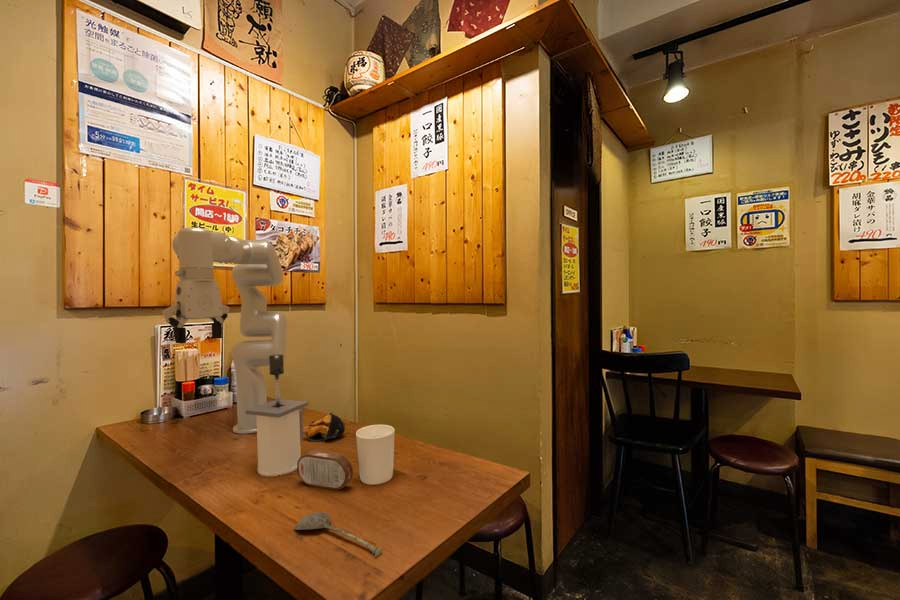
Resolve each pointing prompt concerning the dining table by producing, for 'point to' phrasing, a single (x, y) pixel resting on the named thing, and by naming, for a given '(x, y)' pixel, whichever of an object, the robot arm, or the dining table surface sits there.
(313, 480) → the tin
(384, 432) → the white tapered cylinder
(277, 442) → the white grey-topped cylinder
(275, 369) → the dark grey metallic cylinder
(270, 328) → the robot arm
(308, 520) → the soupspoon
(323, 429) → the fried shrimp in bowl
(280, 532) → the dining table surface
